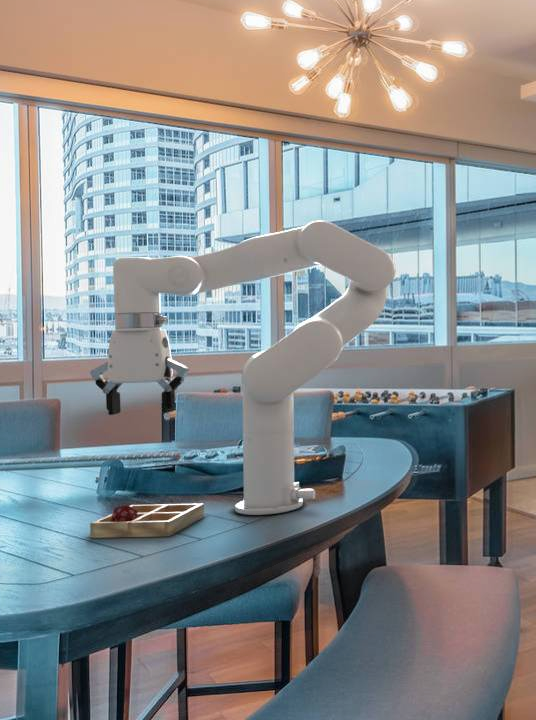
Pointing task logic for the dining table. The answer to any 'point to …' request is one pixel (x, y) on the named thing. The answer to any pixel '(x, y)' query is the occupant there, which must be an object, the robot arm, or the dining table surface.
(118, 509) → the dice
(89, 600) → the dining table surface
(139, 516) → the wooden compartment tray
